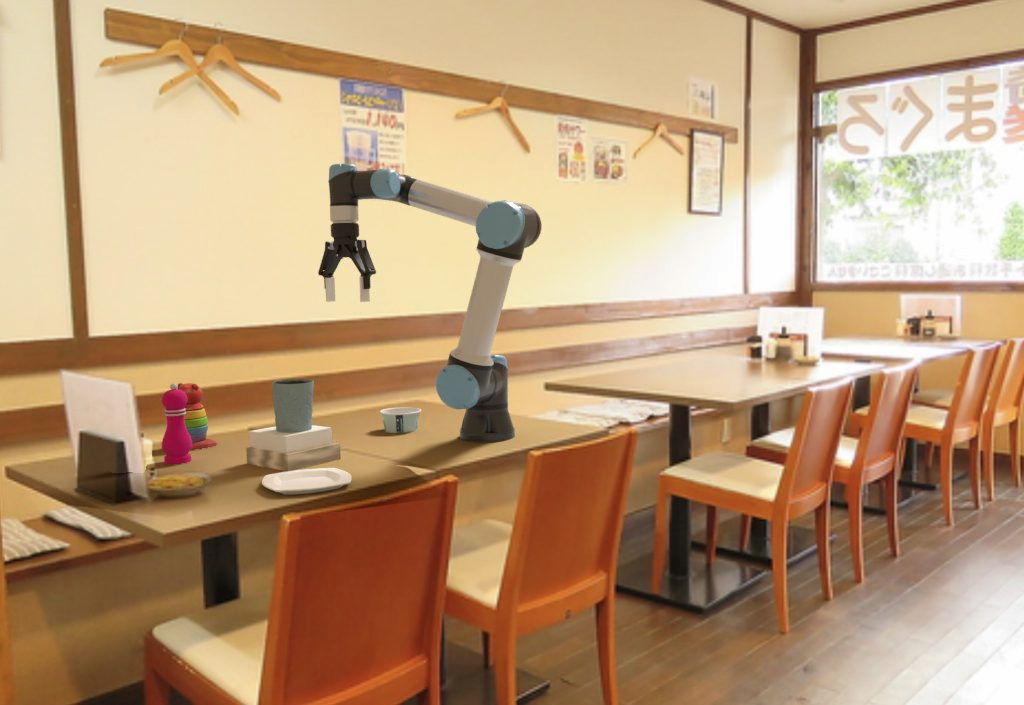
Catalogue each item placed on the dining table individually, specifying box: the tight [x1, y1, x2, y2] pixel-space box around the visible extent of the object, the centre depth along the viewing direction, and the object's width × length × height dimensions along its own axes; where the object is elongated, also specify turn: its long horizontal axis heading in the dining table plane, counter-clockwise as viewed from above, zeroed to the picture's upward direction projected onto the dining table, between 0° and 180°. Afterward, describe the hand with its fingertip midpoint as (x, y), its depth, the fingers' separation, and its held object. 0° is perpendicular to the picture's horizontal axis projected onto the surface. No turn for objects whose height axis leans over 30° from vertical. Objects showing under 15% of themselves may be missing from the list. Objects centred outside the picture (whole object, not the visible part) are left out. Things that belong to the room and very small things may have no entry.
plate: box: [261, 467, 352, 496], centre depth 194 cm, size 19×19×2 cm
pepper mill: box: [161, 382, 192, 465], centre depth 221 cm, size 7×7×20 cm
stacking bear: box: [177, 382, 218, 451], centre depth 239 cm, size 11×10×18 cm
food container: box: [379, 406, 422, 434], centre depth 257 cm, size 12×12×6 cm
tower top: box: [249, 424, 333, 453], centre depth 218 cm, size 14×14×4 cm
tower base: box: [245, 441, 341, 472], centre depth 218 cm, size 16×16×5 cm
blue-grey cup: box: [271, 378, 315, 433], centre depth 217 cm, size 10×10×12 cm
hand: (347, 301), depth 240 cm, fingers open, 13 cm apart
